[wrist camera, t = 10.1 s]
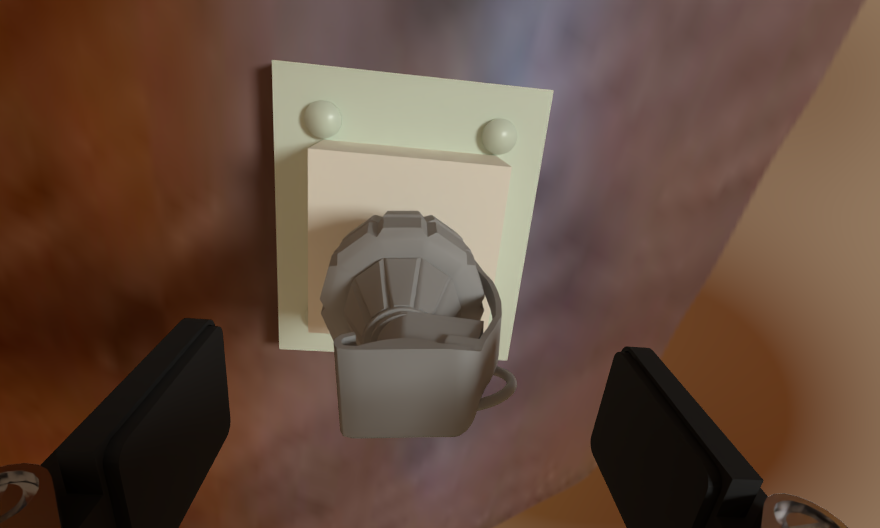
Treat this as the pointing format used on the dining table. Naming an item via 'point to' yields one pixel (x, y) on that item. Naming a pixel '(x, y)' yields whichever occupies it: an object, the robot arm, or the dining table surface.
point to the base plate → (405, 125)
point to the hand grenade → (411, 329)
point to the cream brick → (400, 201)
